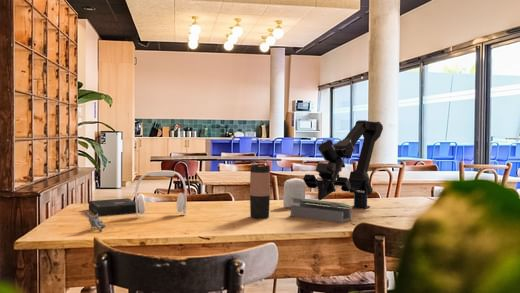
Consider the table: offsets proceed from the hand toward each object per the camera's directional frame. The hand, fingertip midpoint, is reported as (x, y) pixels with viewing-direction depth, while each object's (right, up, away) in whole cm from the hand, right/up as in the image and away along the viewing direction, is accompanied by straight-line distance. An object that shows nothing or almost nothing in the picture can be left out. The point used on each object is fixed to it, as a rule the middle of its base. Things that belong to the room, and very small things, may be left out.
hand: (319, 199), depth 184 cm
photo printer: (-8, -6, +26) cm, 28 cm away
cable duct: (+1, -7, +1) cm, 7 cm away
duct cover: (0, -3, +1) cm, 3 cm away
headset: (-61, -7, +1) cm, 61 cm away
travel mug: (-23, -7, +1) cm, 24 cm away
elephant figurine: (-78, -8, -23) cm, 82 cm away
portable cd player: (-82, -7, +11) cm, 83 cm away
